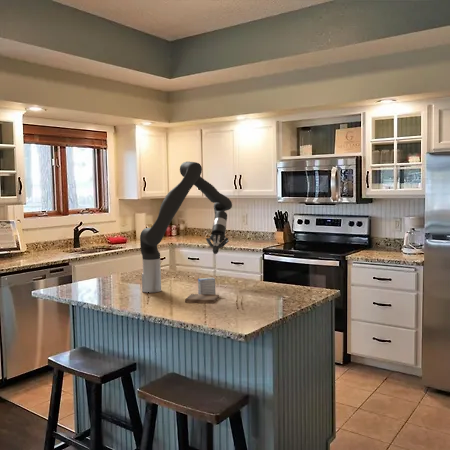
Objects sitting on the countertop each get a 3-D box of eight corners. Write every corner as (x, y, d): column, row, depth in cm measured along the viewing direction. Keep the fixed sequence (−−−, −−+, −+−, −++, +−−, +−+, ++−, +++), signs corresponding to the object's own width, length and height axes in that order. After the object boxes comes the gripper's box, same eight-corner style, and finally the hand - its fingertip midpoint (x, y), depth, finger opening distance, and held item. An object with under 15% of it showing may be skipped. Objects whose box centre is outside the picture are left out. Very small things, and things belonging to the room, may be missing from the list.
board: (185, 302, 233) (185, 299, 233) (191, 297, 244) (191, 294, 244) (214, 303, 231) (214, 299, 231) (219, 297, 241) (218, 294, 241)
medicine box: (213, 293, 250) (212, 277, 249) (215, 295, 246) (215, 278, 245) (198, 295, 248) (197, 278, 247) (200, 297, 243) (200, 279, 243)
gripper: (206, 223, 274) (201, 249, 263) (229, 223, 271) (226, 248, 261) (209, 232, 280) (204, 257, 269) (232, 231, 277) (228, 257, 266)
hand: (215, 253), depth 265 cm, fingers closed
